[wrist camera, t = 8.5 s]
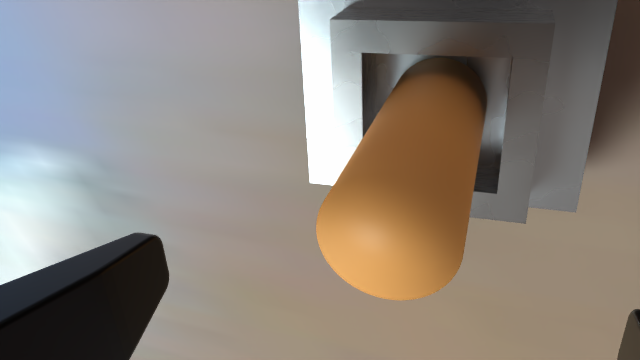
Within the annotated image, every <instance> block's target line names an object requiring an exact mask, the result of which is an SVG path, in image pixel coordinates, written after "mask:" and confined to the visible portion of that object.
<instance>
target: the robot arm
mask: <svg viewBox="0 0 640 360" xmlns="http://www.w3.org/2000/svg"><path fill="white" fill-rule="evenodd" d="M168 283H169V271H168V266H167V262H166V257H165V253H164V248H163V244H162V241H161V239H160V238H159V237H158V236H156V235H152V234H145V233H133V234H130V235H128V236H125V237H123V238H120V239H118V240H115V241H112V242H110V243H107V244H105V245H102V246H100V247H97V248H94V249H92V250H89V251H87V252H84V253H82V254H79V255H77V256H74V257H71V258H69V259H66V260H64V261H61V262H59V263H56V264H54V265H51V266H48V267H46V268H43V269H41V270H38V271H36V272H33V273H30V274H28V275H25V276H23V277H20V278H18V279H15V280H13V281H10V282H7V283H5V284H2V285H0V360H129V359H130V357H131V356H132V354H133V352H134V350H135V348H136V346H137V344H138V343H139V341H140V339H141V337H142V335H143V333H144V331H145V329H146V327H147V325H148V323H149V322H150V320H151V318H152V316H153V314H154V312H155V310H156V308H157V306H158V304H159V302H160V300H161V299H162V297H163V295H164V293H165V291H166V289H167V286H168ZM617 360H640V309H635V310H633V311H632V312H631V313H630V315H629V317H628V320H627V324H626V327H625V331H624V335H623V338H622V342H621V346H620V349H619V353H618V358H617Z"/></svg>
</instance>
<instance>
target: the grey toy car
mask: <svg viewBox="0 0 640 360" xmlns="http://www.w3.org/2000/svg"><path fill="white" fill-rule="evenodd" d="M617 2H618V0H298V5H299V20H300V36H301V51H302V67H303V83H304V98H305V114H306V129H307V145H308V160H309V176H310V183H317V184H326V185H334V184H335V182H336V181H337V179H338V177H339V176H340V174H341V172H342V171H343V169H344V168H345V166H346V164H347V163H348V161H349V160H350V158H351V156H352V155H353V153H354V151H355V150H356V148H357V147H358V145H359V143H360V142H361V140H362V139H363V137H364V135H365V134H366V132H367V130H368V129H369V127H370V126H371V124H372V122H373V121H374V119H375V118H376V116H377V114H378V113H379V111H380V109H381V108H382V106H383V105H384V103H385V101H386V100H387V98H388V97H389V95H390V93H391V92H392V90H393V88H394V87H395V85H396V84H397V82H398V80H399V79H400V77H401V76H402V75H403V74H404V72H405V71H406V70H407V69H409V68H410V67H411V66H413V65H414V64H416V63H418V62H420V61H423V60H426V59H431V58H449V59H453V60H456V61H459V62H461V63H463V64H465V65H466V66H468V67H469V68H471V69H472V70H473V71H474V72H475V73H476V74H477V76H478V77H479V78H480V80H481V81H482V83H483V85H484V88H485V91H486V95H487V110H486V116H485V122H484V129H483V135H482V141H481V147H480V153H479V160H478V166H477V172H476V178H475V185H474V191H473V197H472V203H471V209H470V216H469V217H474V218H482V219H490V220H499V221H507V222H515V223H524V224H526V218H527V211H528V207H532V208H541V209H550V210H559V211H568V212H576V210H577V205H578V200H579V195H580V189H581V184H582V179H583V174H584V169H585V164H586V159H587V154H588V149H589V144H590V139H591V134H592V129H593V123H594V118H595V113H596V108H597V103H598V98H599V93H600V88H601V83H602V78H603V73H604V68H605V62H606V57H607V52H608V47H609V42H610V37H611V32H612V27H613V22H614V17H615V12H616V7H617Z"/></svg>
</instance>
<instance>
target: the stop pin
mask: <svg viewBox="0 0 640 360" xmlns="http://www.w3.org/2000/svg"><path fill="white" fill-rule="evenodd" d="M486 110H487V95H486V91H485V88H484V85H483V83H482V81H481V80H480V78H479V77H478V76H477V74H476V73H475V72H474V71H473V70H472V69H471V68H469V67H468V66H466V65H465V64H463V63H461V62H459V61H456V60H453V59H449V58H431V59H426V60H423V61H420V62H418V63H416V64H414V65H413V66H411V67H410V68H409V69H407V70H406V71H405V72H404V74H403V75H402V76H401V77H400V79H399V80H398V82H397V84H396V85H395V87H394V88H393V90H392V92H391V93H390V95H389V97H388V98H387V100H386V101H385V103H384V105H383V106H382V108H381V109H380V111H379V113H378V114H377V116H376V118H375V119H374V121H373V122H372V124H371V126H370V127H369V129H368V130H367V132H366V134H365V135H364V137H363V139H362V140H361V142H360V143H359V145H358V147H357V148H356V150H355V151H354V153H353V155H352V156H351V158H350V160H349V161H348V163H347V164H346V166H345V168H344V169H343V171H342V172H341V174H340V176H339V177H338V179H337V181H336V182H335V184H334V185H333V187H332V189H331V190H330V192H329V193H328V195H327V197H326V198H325V200H324V202H323V204H322V205H321V207H320V210H319V213H318V217H317V223H316V232H317V239H318V243H319V246H320V249H321V251H322V253H323V255H324V257H325V259H326V260H327V262H328V263H329V265H330V266H331V267H332V269H333V270H334V271H335V272H336V273H337V274H338V275H339V276H340V277H341V278H342V279H344V280H345V281H346V282H348V283H349V284H350V285H352V286H353V287H355V288H357V289H359V290H361V291H363V292H365V293H367V294H370V295H373V296H376V297H380V298H384V299H391V300H412V299H417V298H422V297H425V296H428V295H431V294H433V293H435V292H437V291H438V290H440V289H441V288H443V287H444V286H445V285H447V284H448V283H449V282H450V281H451V280H452V278H453V277H454V276H455V274H456V273H457V271H458V269H459V267H460V265H461V262H462V259H463V253H464V247H465V241H466V234H467V228H468V222H469V216H470V209H471V203H472V197H473V191H474V185H475V178H476V172H477V166H478V160H479V153H480V147H481V141H482V135H483V129H484V122H485V116H486Z"/></svg>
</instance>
